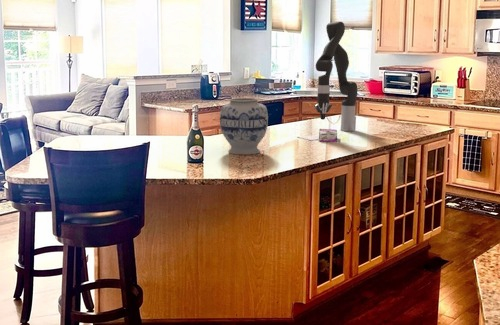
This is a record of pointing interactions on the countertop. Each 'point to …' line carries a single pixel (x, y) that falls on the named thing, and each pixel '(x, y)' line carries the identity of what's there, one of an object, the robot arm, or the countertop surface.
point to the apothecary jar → (244, 125)
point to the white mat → (310, 137)
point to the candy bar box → (328, 135)
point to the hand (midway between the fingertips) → (322, 119)
